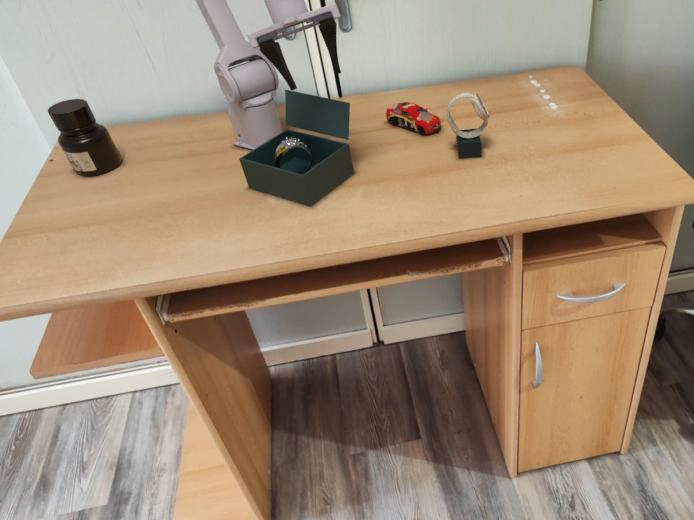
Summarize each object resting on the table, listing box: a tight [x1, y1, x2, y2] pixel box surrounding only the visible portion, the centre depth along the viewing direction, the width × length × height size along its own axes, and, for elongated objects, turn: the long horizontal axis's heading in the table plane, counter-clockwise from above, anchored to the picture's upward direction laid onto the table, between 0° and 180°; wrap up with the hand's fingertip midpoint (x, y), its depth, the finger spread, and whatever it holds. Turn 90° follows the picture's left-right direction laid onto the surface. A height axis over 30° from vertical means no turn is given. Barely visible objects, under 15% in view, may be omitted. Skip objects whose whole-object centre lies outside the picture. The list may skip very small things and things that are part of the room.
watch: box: [446, 91, 490, 160], centre depth 109 cm, size 6×8×11 cm
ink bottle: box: [47, 98, 122, 177], centre depth 111 cm, size 10×9×12 cm
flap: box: [284, 89, 351, 141], centre depth 105 cm, size 6×15×1 cm
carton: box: [238, 128, 355, 207], centre depth 106 cm, size 13×15×6 cm
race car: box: [385, 101, 442, 136], centre depth 120 cm, size 13×5×4 cm, turn 50°
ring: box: [275, 137, 315, 175], centre depth 104 cm, size 7×3×8 cm, turn 107°
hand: (316, 81), depth 93 cm, fingers open, 7 cm apart
